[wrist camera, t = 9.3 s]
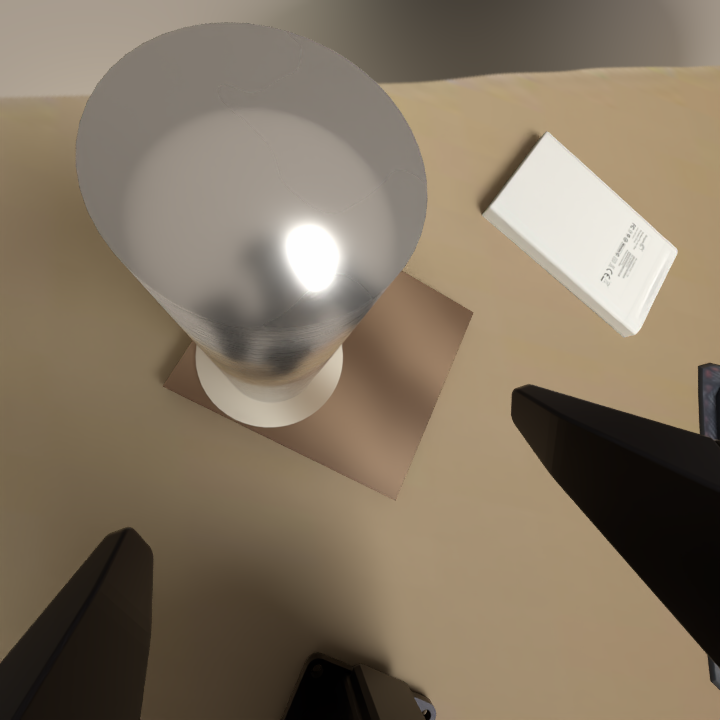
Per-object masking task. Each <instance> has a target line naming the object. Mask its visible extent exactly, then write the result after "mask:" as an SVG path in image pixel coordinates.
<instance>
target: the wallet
mask: <svg viewBox="0 0 720 720" xmlns="http://www.w3.org/2000/svg"><path fill="white" fill-rule="evenodd" d="M698 397H699V423H700V435H704V436H707V437H710V438H712V439H713V440H720V365H716V364H712V363H708V364H705V365H701V366H698ZM708 662H709V671H710V680H711V682H712V683H713V684H714V685H715V686H716V687H717V688H718V689H719V690H720V668H719V667H718V666H717V665H716V664H715V663H714V662H713V660H712V659H711V658H710V657H709V656H708Z"/></svg>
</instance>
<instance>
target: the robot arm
mask: <svg viewBox="0 0 720 720" xmlns="http://www.w3.org/2000/svg"><path fill="white" fill-rule="evenodd" d="M511 416H512V420H513V422H514V424H515V425H516V427H517V428H518V430H519V431H520V433H521V434H522V435H523V437H524V438H525V440H526V441H527V442H528V444H529V445H530V447H531V448H532V449H533V451H534V452H535V454H536V455H537V457H538V458H539V459H540V461H541V462H542V464H543V465H544V466H545V468H546V469H547V470H548V472H549V473H550V474H551V476H552V477H553V478H554V479H555V480H556V482H557V483H558V484H559V485H560V486H561V487H562V489H563V490H564V491H565V492H566V493H567V494H568V495H569V497H570V498H571V499H572V500H573V501H574V502H575V503H576V505H577V506H578V507H579V508H580V509H581V510H582V511H583V513H584V514H585V515H586V516H587V517H588V518H589V519H590V521H591V522H592V523H593V524H594V525H595V526H596V528H597V529H598V530H599V531H600V532H601V533H602V534H603V536H604V537H605V538H606V539H607V540H608V541H609V542H610V544H611V545H612V546H613V547H614V548H615V549H616V550H617V552H618V553H619V554H620V555H621V556H622V557H623V558H624V560H625V561H626V562H627V563H628V564H629V565H630V566H631V568H632V569H633V570H634V571H635V572H636V573H637V574H638V576H639V577H640V578H641V579H642V580H643V581H644V582H645V584H646V585H647V586H648V587H649V588H650V589H651V591H652V592H653V593H654V594H655V595H656V596H657V597H658V599H659V600H660V601H661V602H662V603H663V604H664V605H665V607H666V608H667V609H668V610H669V611H670V612H671V613H672V615H673V616H674V617H675V618H676V619H677V620H678V621H679V623H680V624H681V625H682V626H683V627H684V628H685V629H686V631H687V632H688V633H689V634H690V635H691V636H692V637H693V639H694V640H695V641H696V642H697V643H698V644H699V645H700V647H701V648H702V649H703V650H704V651H705V652H706V654H707V655H708V656H709V657H710V658H711V659H712V660H713V662H714V663H715V664H716V665H717V666H718V667H719V668H720V440H713V439H712V438H710V437H707V436H704V435H700V434H697V433H694V432H690V431H687V430H683V429H680V428H677V427H673V426H670V425H666V424H663V423H660V422H656V421H653V420H650V419H646V418H643V417H639V416H636V415H633V414H629V413H626V412H623V411H619V410H616V409H612V408H609V407H606V406H602V405H599V404H596V403H592V402H589V401H585V400H582V399H579V398H575V397H572V396H568V395H565V394H562V393H558V392H555V391H552V390H548V389H545V388H541V387H538V386H535V385H531V384H527V385H524V386H521V387H518V388H516V389H514V390H513V392H512V403H511ZM152 591H153V553H152V550H151V548H150V546H149V545H148V544H147V543H146V542H145V541H144V540H143V539H142V537H141V536H140V535H139V534H138V533H137V532H136V531H135V530H134V529H133V528H131V527H126V528H123V529H121V530H118V531H115V532H112V533H110V534H108V535H107V536H106V537H105V538H104V539H103V541H102V542H101V543H100V544H99V545H98V547H97V548H96V549H95V550H94V551H93V553H92V554H91V555H90V556H89V557H88V559H87V560H86V561H85V562H84V563H83V565H82V566H81V567H80V568H79V569H78V571H77V572H76V573H75V574H74V575H73V577H72V578H71V579H70V580H69V581H68V583H67V584H66V585H65V586H64V587H63V589H62V590H61V591H60V592H59V593H58V595H57V596H56V597H55V598H54V599H53V601H52V602H51V603H50V604H49V605H48V607H47V608H46V609H45V610H44V611H43V613H42V614H41V615H40V616H39V617H38V619H37V620H36V621H35V622H34V623H33V625H32V626H31V627H30V628H29V629H28V631H27V632H26V633H25V634H24V635H23V637H22V638H21V639H20V640H19V641H18V643H17V644H16V645H15V646H14V647H13V649H12V650H11V651H10V652H9V653H8V655H7V656H6V657H5V658H4V659H3V661H2V662H1V663H0V720H140V715H141V707H142V700H143V692H144V685H145V677H146V670H147V662H148V655H149V647H150V638H151V624H152ZM315 665H321V666H322V667H321V669H320V670H319V671H318V672H313V671H312V668H313V667H314V666H315ZM425 709H427V712H426V714H425V715H423V713H422V711H423V710H425ZM435 718H436V711H435V708H434V706H433V705H432V703H431V701H430V700H429V699H428V698H427V697H425V696H422V695H420V694H417V693H415V692H413V691H410V689H409V687H408V685H407V683H405V682H403V681H401V680H399V679H396V678H394V677H392V676H389V675H387V674H384V673H382V672H380V671H377V670H375V669H373V668H370V667H368V666H365V665H363V664H358V665H355V666H354V667H353V666H350V665H348V664H346V663H343V662H341V661H338V660H336V659H334V658H331V657H329V656H326V655H324V654H322V653H314V654H312V655H311V656H309V657H308V659H307V661H306V663H305V665H304V667H303V670H302V672H301V674H300V677H299V679H298V681H297V683H296V686H295V688H294V690H293V693H292V695H291V697H290V700H289V702H288V704H287V707H286V709H285V711H284V714H283V716H282V718H281V720H435Z"/></svg>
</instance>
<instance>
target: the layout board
mask: <svg viewBox="0 0 720 720" xmlns="http://www.w3.org/2000/svg"><path fill="white" fill-rule="evenodd" d="M472 315H473V312H472V311H470V310H468V309H466V308H465V307H463V306H461V305H460V304H458V303H456V302H454V301H453V300H451V299H449V298H448V297H446V296H444V295H442V294H441V293H439V292H437V291H436V290H434V289H432V288H430V287H429V286H427V285H425V284H423V283H422V282H420V281H418V280H417V279H415V278H413V277H411V276H410V275H408V274H406V273H405V272H403V271H401V272H400V273H399V274H398V276H397V277H396V278H395V279H394V281H393V282H392V283H391V284H390V285H389V287H388V288H387V289H386V290H385V292H384V293H383V294H382V295H381V297H380V298H379V299H378V300H377V301H376V303H375V304H374V305H373V306H372V308H371V309H370V310H369V311H368V313H367V314H366V315H365V316H364V318H363V319H362V320H361V321H360V322H359V324H358V325H357V326H356V327H355V329H354V330H353V331H352V332H351V334H350V335H349V336H348V337H347V338H346V340H345V341H344V342H343V343H342V345H341V346H340V347H339V348H338V350H337V351H336V352H335V353H334V354H333V356H332V357H331V358H330V359H329V361H328V362H327V363H326V364H325V366H324V367H323V368H322V369H321V371H320V372H319V373H318V374H317V375H316V377H315V378H314V379H313V380H312V382H311V383H310V384H309V385H308V386H307V388H306V389H305V390H303V391H302V392H301V393H300V394H298V395H297V396H295V397H293V398H291V399H288V400H286V401H282V402H275V403H267V402H260V401H257V400H254V399H251V398H249V397H247V396H246V395H244V394H242V393H241V392H240V391H239V390H238V389H237V388H236V387H235V386H234V385H233V384H232V383H231V382H230V381H229V380H228V379H227V377H226V376H225V375H224V374H223V373H222V372H221V371H220V370H219V369H218V368H217V366H216V365H215V364H214V363H213V362H212V361H211V360H210V359H209V358H208V357H207V355H206V354H205V353H204V352H203V351H202V350H201V349H200V348H199V347H198V345H197V344H196V343H195V342H194V341H193V340H192V342H191V343H190V345H189V346H188V348H187V350H186V351H185V353H184V354H183V356H182V357H181V359H180V360H179V362H178V363H177V365H176V366H175V368H174V370H173V371H172V373H171V374H170V376H169V377H168V379H167V380H166V382H165V383H164V385H163V387H165V388H167V389H169V390H171V391H173V392H175V393H177V394H179V395H181V396H183V397H185V398H187V399H189V400H191V401H193V402H196V403H198V404H200V405H202V406H204V407H206V408H208V409H210V410H212V411H214V412H216V413H218V414H220V415H222V416H224V417H226V418H228V419H230V420H232V421H234V422H236V423H238V424H240V425H242V426H244V427H247V428H249V429H251V430H253V431H255V432H257V433H259V434H261V435H263V436H265V437H267V438H269V439H271V440H273V441H275V442H277V443H279V444H281V445H283V446H285V447H287V448H289V449H291V450H293V451H295V452H297V453H300V454H302V455H304V456H306V457H308V458H310V459H312V460H314V461H316V462H318V463H320V464H322V465H324V466H326V467H328V468H330V469H332V470H334V471H336V472H338V473H340V474H342V475H344V476H346V477H348V478H351V479H353V480H355V481H357V482H359V483H361V484H363V485H365V486H367V487H369V488H371V489H373V490H375V491H377V492H379V493H381V494H383V495H385V496H387V497H389V498H391V499H393V500H395V501H396V499H397V496H398V494H399V491H400V489H401V487H402V484H403V482H404V479H405V477H406V474H407V472H408V470H409V467H410V465H411V462H412V460H413V458H414V455H415V453H416V450H417V448H418V445H419V443H420V441H421V438H422V436H423V433H424V431H425V429H426V426H427V424H428V421H429V419H430V416H431V414H432V412H433V409H434V407H435V404H436V402H437V400H438V397H439V395H440V392H441V390H442V387H443V385H444V383H445V380H446V378H447V375H448V373H449V371H450V368H451V366H452V363H453V361H454V358H455V356H456V354H457V351H458V349H459V346H460V344H461V342H462V339H463V337H464V334H465V332H466V329H467V327H468V325H469V322H470V320H471V317H472Z"/></svg>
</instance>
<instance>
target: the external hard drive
mask: <svg viewBox="0 0 720 720" xmlns="http://www.w3.org/2000/svg"><path fill="white" fill-rule="evenodd" d="M482 216H483V217H484V218H486V219H487V220H488V221H489V222H490V223H492V224H493V225H494V226H495V227H496V228H497V229H498V230H500V231H501V232H502V233H503V234H504V235H505V236H507V237H508V238H509V239H510V240H511V241H512V242H514V243H515V244H516V245H517V246H518V247H519V248H521V249H522V250H523V251H524V252H525V253H526V254H528V255H529V256H530V257H531V258H532V259H533V260H534V261H536V262H537V263H538V264H539V265H540V266H541V267H543V268H544V269H545V270H546V271H547V272H548V273H550V274H551V275H552V276H553V277H554V278H555V279H557V280H558V281H559V282H560V283H561V284H562V285H564V286H565V287H566V288H567V289H568V290H569V291H570V292H572V293H573V294H574V295H575V296H576V297H577V298H579V299H580V300H581V301H582V302H583V303H584V304H585V305H587V306H588V307H589V308H590V309H591V310H592V311H594V312H595V313H596V314H597V315H598V316H599V317H601V318H602V319H603V320H604V321H605V322H606V323H608V324H609V325H610V326H611V327H612V328H613V329H614V330H616V331H617V332H618V333H619V334H620V335H621V336H623V337H628V336H632V335H635V334H636V333H637V332H638V331H639V330H640V329H641V327H642V325H643V323H644V321H645V319H646V317H647V315H648V312H649V310H650V308H651V306H652V304H653V302H654V300H655V298H656V296H657V294H658V291H659V289H660V288H661V285H662V284H663V281H664V280H665V277H666V275H667V273H668V271H669V269H670V267H671V265H672V263H673V261H674V259H675V257H676V255H677V252H678V251H677V249H676V248H675V247H674V246H673V245H672V244H671V243H670V242H669V241H668V240H667V239H665V238H664V237H663V236H662V235H661V234H660V233H659V232H658V231H657V230H655V229H654V228H653V227H652V226H651V225H650V224H649V223H648V222H647V221H646V220H645V219H644V218H642V217H641V216H640V215H639V214H638V213H637V212H636V211H635V210H634V209H633V208H631V207H630V206H629V205H628V204H627V203H626V202H625V201H624V200H623V199H622V198H620V197H619V196H618V195H617V194H616V193H615V192H614V191H613V190H612V189H611V188H610V187H608V186H607V185H606V184H605V183H604V182H603V181H602V180H601V179H600V178H598V177H597V176H596V175H595V174H594V173H593V172H592V171H591V170H590V169H589V168H588V167H586V166H585V165H584V164H583V163H582V162H581V161H580V160H579V159H578V158H576V157H575V156H574V155H573V154H572V153H571V152H570V151H569V150H568V149H567V148H565V147H564V146H563V145H562V144H561V143H560V142H559V141H558V140H556V139H555V138H554V137H553V136H552V135H551V134H550V133H549V132H547V131H546V132H545V133H544V134H543V136H542V137H541V138H540V139H539V140H538V141H537V143H536V144H535V145H534V147H533V148H532V149H531V151H530V152H529V153H528V155H527V156H526V157H525V159H524V160H523V161H522V163H521V164H520V165H519V167H518V168H517V169H516V170H515V172H514V173H513V174H512V176H511V177H510V178H509V180H508V181H507V182H506V184H505V185H504V186H503V188H502V189H501V190H500V192H499V193H498V194H497V196H496V197H495V198H494V200H493V201H492V202H491V204H490V205H489V206H488V207H487V209H486V210H485V211H484V213H483V214H482Z"/></svg>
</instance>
